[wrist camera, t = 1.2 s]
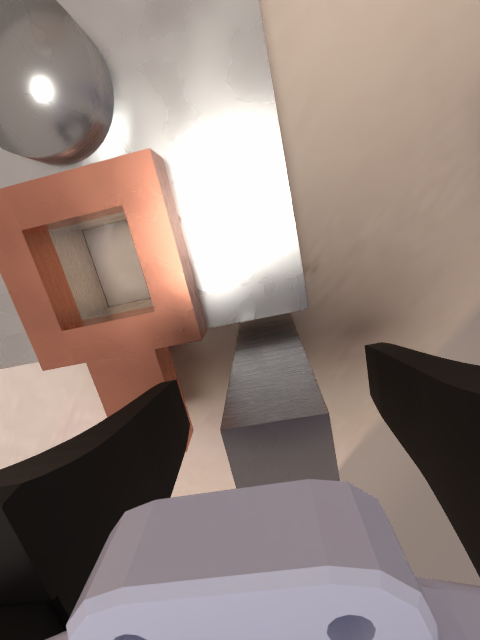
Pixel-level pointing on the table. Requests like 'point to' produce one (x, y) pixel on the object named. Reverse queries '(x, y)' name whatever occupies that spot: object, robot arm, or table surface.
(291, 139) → the table surface
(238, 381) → the grey rectangular block
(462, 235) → the table surface
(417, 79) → the table surface
